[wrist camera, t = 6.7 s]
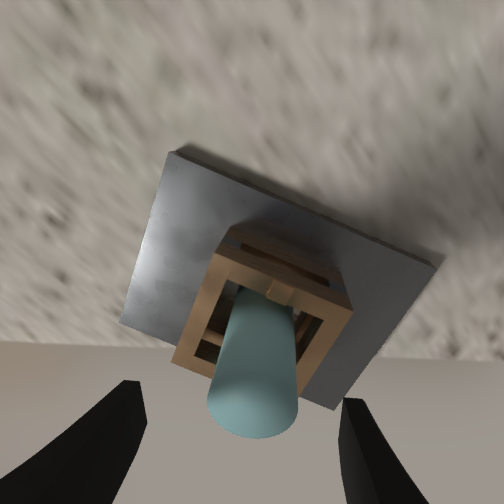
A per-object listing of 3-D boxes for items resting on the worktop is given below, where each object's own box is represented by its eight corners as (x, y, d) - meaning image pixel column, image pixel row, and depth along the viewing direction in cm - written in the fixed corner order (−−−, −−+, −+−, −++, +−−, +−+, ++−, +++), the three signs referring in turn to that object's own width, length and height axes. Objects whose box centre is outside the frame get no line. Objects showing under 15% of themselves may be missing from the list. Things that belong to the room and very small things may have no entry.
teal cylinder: (289, 271, 19) (292, 366, 11) (296, 321, 20) (302, 437, 13) (231, 277, 19) (198, 372, 12) (241, 326, 21) (217, 439, 13)
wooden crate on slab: (429, 262, 19) (477, 310, 14) (332, 399, 23) (342, 470, 19) (174, 150, 18) (132, 160, 13) (126, 314, 23) (81, 365, 18)
